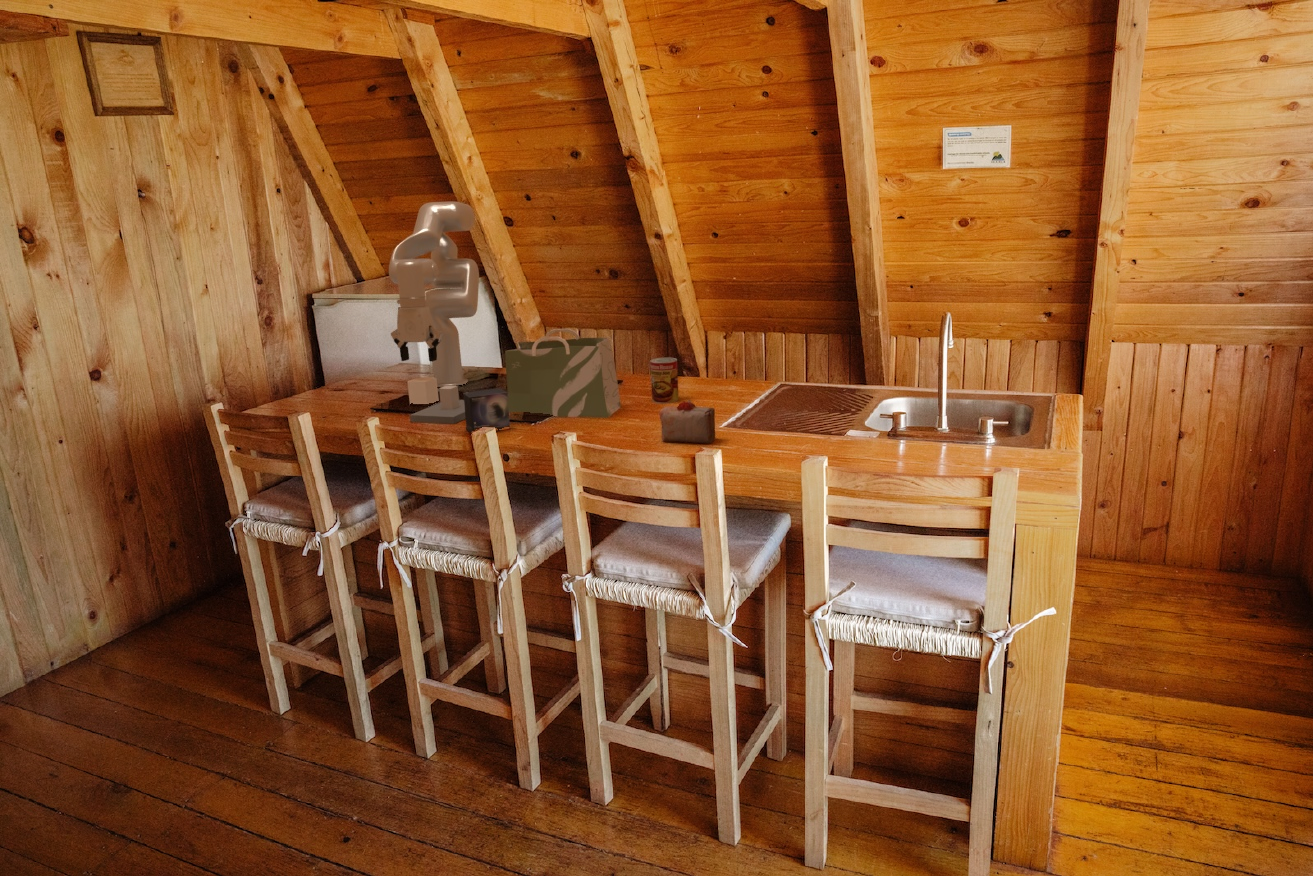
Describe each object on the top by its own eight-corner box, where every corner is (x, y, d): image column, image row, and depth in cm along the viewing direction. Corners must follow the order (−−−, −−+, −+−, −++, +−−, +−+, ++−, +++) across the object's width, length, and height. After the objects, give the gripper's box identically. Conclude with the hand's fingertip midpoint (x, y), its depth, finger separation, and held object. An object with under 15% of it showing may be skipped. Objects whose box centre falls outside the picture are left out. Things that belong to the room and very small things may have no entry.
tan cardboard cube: (421, 401, 293) (418, 377, 291) (438, 401, 291) (436, 377, 289) (410, 405, 287) (407, 381, 285) (427, 406, 285) (425, 381, 283)
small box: (472, 435, 249) (469, 396, 246) (465, 430, 255) (461, 392, 252) (511, 429, 254) (508, 391, 251) (503, 424, 259) (500, 387, 257)
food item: (656, 443, 234) (654, 404, 231) (666, 435, 241) (665, 397, 239) (710, 445, 230) (708, 406, 227) (718, 437, 237) (717, 398, 234)
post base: (448, 405, 285) (445, 379, 283) (489, 407, 280) (487, 380, 278) (410, 422, 267) (407, 394, 265) (454, 424, 262) (451, 395, 260)
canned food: (647, 402, 277) (645, 362, 274) (657, 396, 284) (656, 357, 281) (672, 403, 274) (671, 362, 271) (682, 397, 281) (681, 357, 278)
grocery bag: (501, 415, 270) (493, 334, 264) (521, 404, 282) (514, 327, 276) (607, 418, 261) (602, 334, 255) (623, 406, 274) (618, 326, 268)
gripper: (381, 304, 280) (387, 362, 284) (431, 304, 274) (437, 363, 278) (395, 302, 287) (401, 358, 291) (445, 301, 281) (450, 358, 285)
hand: (419, 360), depth 285 cm, fingers open, 9 cm apart
